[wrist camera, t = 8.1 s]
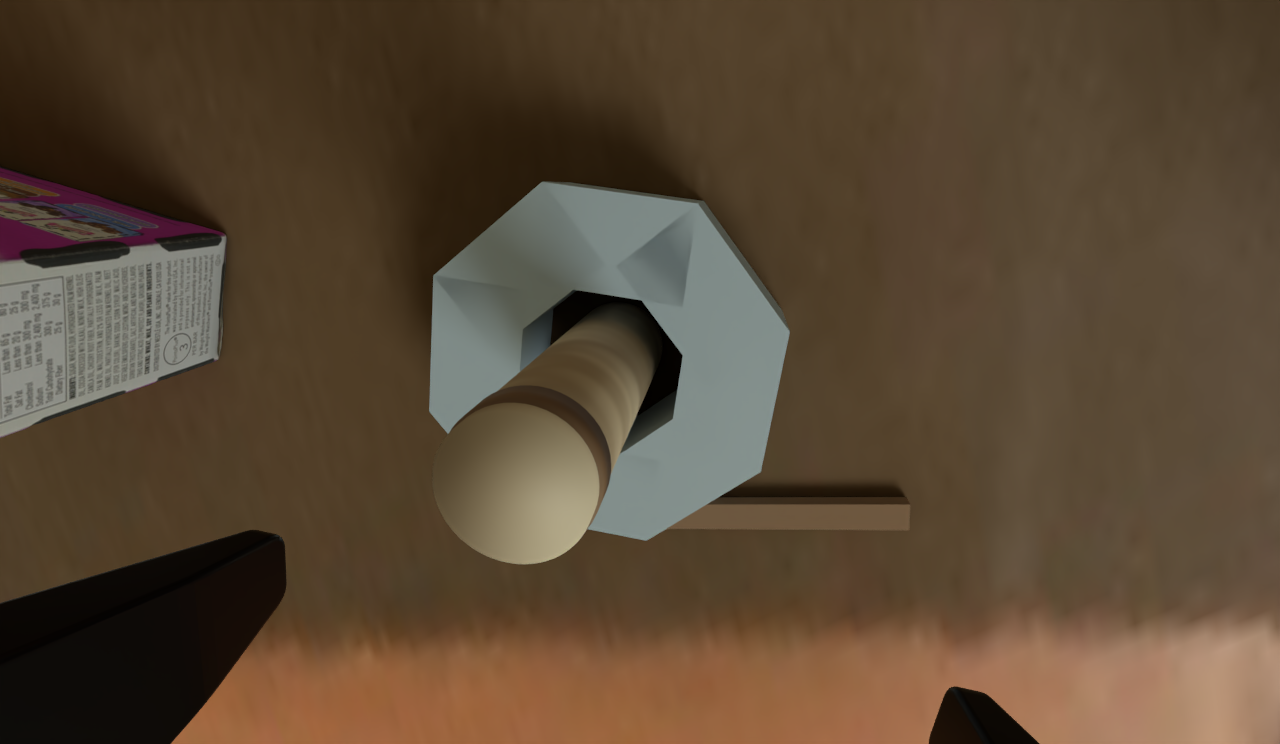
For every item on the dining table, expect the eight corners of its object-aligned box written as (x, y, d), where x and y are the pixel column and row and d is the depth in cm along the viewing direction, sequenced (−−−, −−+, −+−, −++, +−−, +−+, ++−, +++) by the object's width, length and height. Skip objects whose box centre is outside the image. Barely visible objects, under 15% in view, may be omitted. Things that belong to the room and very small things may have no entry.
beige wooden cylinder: (670, 308, 19) (606, 425, 10) (657, 395, 20) (587, 582, 11) (579, 293, 20) (431, 393, 10) (570, 380, 20) (426, 548, 11)
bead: (801, 214, 18) (813, 219, 15) (741, 508, 21) (742, 559, 18) (481, 169, 19) (436, 166, 16) (466, 457, 22) (426, 497, 19)
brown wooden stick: (906, 496, 20) (910, 504, 19) (905, 522, 20) (909, 530, 20) (543, 497, 22) (538, 504, 21) (546, 520, 22) (542, 528, 22)
